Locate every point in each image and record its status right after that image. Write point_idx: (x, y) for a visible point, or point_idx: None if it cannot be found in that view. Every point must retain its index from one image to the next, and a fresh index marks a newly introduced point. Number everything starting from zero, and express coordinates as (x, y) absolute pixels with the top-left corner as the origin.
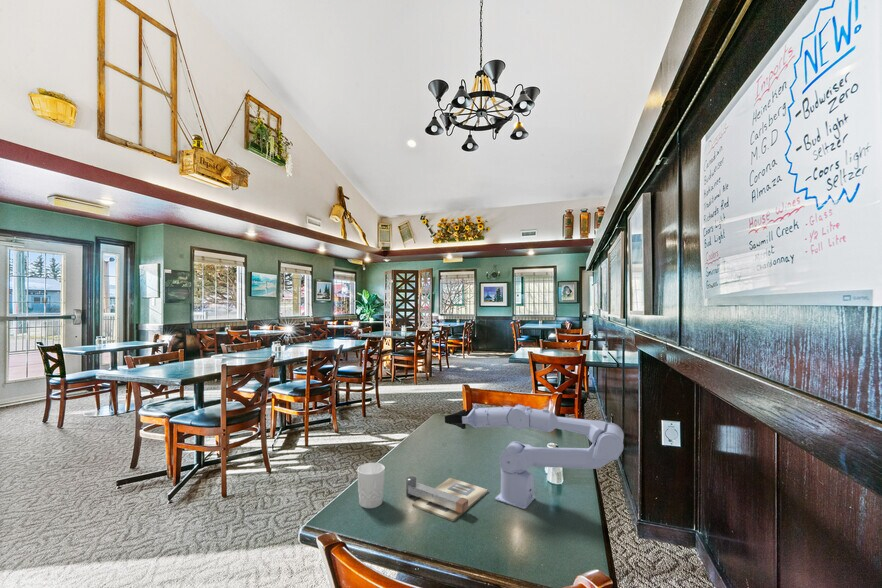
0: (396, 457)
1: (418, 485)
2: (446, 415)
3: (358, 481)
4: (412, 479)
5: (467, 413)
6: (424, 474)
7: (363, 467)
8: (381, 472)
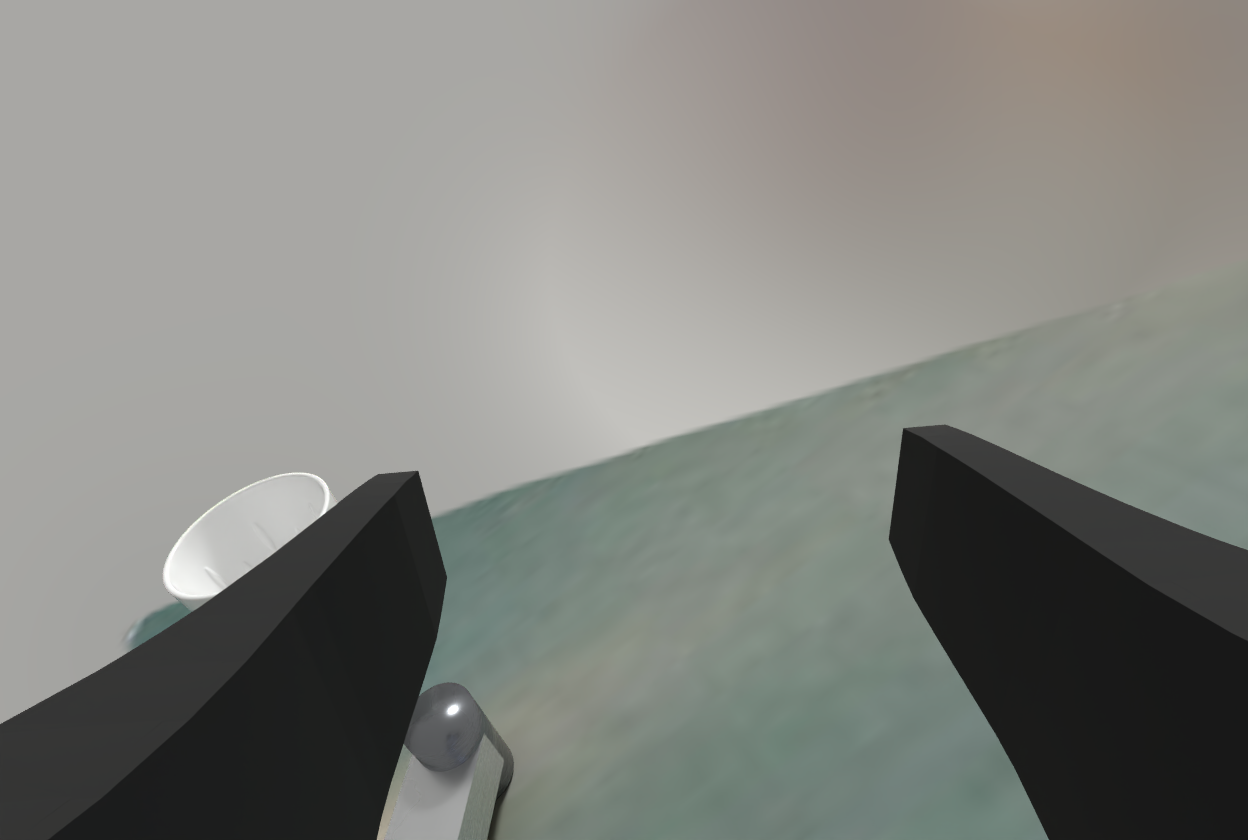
0: (836, 413)
1: (437, 801)
2: (358, 488)
3: (239, 551)
4: (428, 732)
5: (1144, 682)
6: (780, 652)
7: (300, 488)
8: (205, 602)
